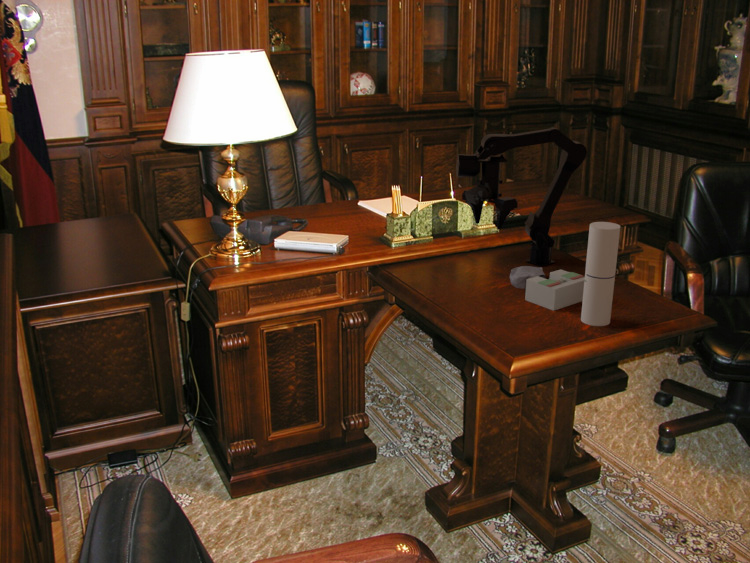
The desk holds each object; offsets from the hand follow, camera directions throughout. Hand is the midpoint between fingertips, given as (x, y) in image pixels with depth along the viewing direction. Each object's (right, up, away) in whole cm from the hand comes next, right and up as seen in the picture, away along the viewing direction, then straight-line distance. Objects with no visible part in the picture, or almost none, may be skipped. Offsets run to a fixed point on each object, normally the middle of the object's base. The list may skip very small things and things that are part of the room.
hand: (487, 226), depth 228 cm
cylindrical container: (+21, -27, -41) cm, 54 cm away
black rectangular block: (+12, -21, -24) cm, 34 cm away
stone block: (+9, -18, -13) cm, 24 cm away
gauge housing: (+15, -22, -27) cm, 38 cm away
